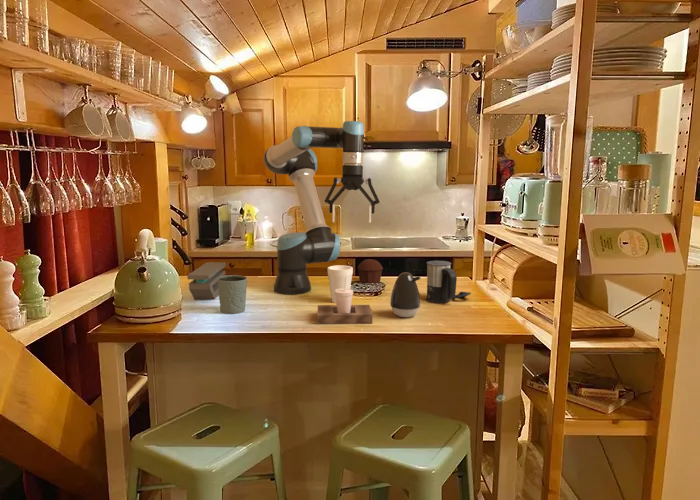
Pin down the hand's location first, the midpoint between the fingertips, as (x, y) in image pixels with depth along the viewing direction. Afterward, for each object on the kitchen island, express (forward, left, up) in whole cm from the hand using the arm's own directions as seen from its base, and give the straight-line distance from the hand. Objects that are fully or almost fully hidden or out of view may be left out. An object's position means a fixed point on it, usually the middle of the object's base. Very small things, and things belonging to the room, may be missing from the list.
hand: (351, 222), depth 194 cm
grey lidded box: (-46, -33, -30) cm, 64 cm away
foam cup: (-2, -4, -30) cm, 31 cm away
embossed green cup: (-21, -39, -30) cm, 54 cm away
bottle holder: (+14, -19, -30) cm, 38 cm away
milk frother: (+27, +26, -30) cm, 48 cm away
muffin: (-14, +28, -30) cm, 43 cm away
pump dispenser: (+27, -2, -30) cm, 41 cm away
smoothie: (+14, -19, -30) cm, 39 cm away
